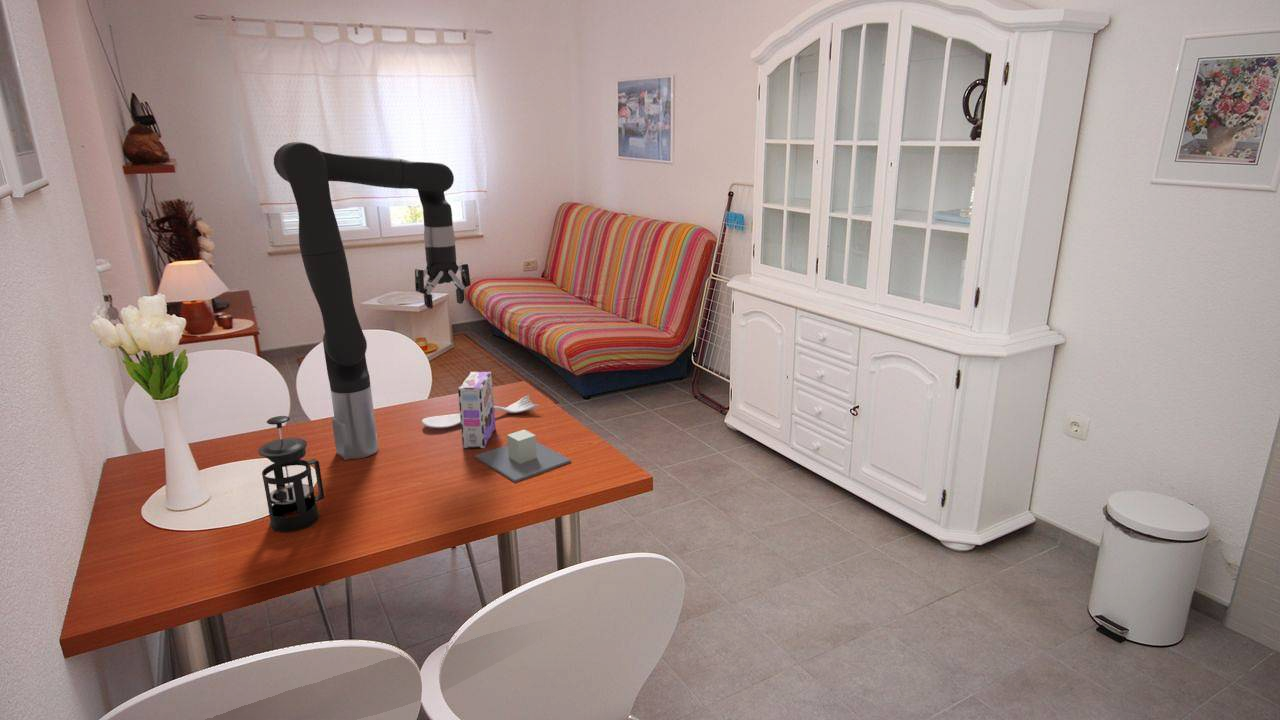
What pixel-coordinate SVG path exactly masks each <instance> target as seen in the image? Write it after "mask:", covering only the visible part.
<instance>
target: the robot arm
mask: <svg viewBox="0 0 1280 720" xmlns="http://www.w3.org/2000/svg"><path fill="white" fill-rule="evenodd" d="M273 166H274V168H275V171H276V173H277V174H278V176H280V178H281V179H283V180H284V181H286V182H287V183H289V185H290V188H291V190H292V192H293V193H292V194H293V196H294V200H295V202H296V206H297V207H296V208H297V212H298V244H299V249H300V254H301V255H300V256H301V259H302V262H303V267H304V270H305V273H306V277H307V280H308V283H309V284H310V288H311V291H312V293H313V295H314V297H315V300H316V303H317V304H318V307H319V310H320V314H321V316H322V321H323V328H324V333H323V336H322V344H323V345H322V346H323V351H324V358H325V360H324V361H325V365H326V372H327V373H326V374H327V379H328V381H329V387H330V394H331V402H332V410H333V417H332V418H331V423H332V429H333V430H332V431H333V435H334V436H333V437H334V443H335V449H336V450H335V453H337V454H338V456H340V457H341V458H342V459H344V460H352V459H355V460H356V459H361V458H365V457H366V458H367V457H370V456H371V455H374V454H376V453H377V452H378V451H379V443H378V436H377V428H376V427H377V426H376V420H375V419H376V418H375V410H374V403H373V394H372V385H371V377H370V372H369V370H368V363H367V359H366V358H367V357H366V352H367V348H368V343H367V339H366V337H365V334H364V332H363V330H362V326H361V324H360V322H359V321H360V320H359V318H358V315H357V311H356V309H355V305H354V299H353V298H354V297H353V289H352V281H351V277H350V271H349V264H348V259H347V255H346V251H345V247H344V243H343V239H342V236H341V232H340V229H339V225H338V221H337V217H336V215H335V211H334V208H333V204H332V199H331V191H330V183H329V182H338V183H339V182H340V183H342V182H343V183H350V184H351V183H352V184H358V185H364V186H372V187H378V188H388V189H398V190H399V189H402V190H403V189H404V190H405V189H406V190H408V189H411V190H412V189H413V190H417V193H418V196H419V200H420V204H421V207H422V215H423V217H422V218H423V226H424V231H423V238H424V239H423V240H424V250H425V252H424V253H425V262H426V268H415V269H414V283H415V285H414V286H415V292H417V293H420V294H423V300H424V301H423V302H424V306H425V307H426V308H427V309H430V310H431V309H433V308H434V305H433V303H434V301H433V294H432V292H433V290H434V289H435V288H436V287H437V285H442V284H448V283H452V284H453V285H454V287H455V288H456V289H455V297H456V302H457V304H459V305H461V304H463V303H464V301H465V288H467V287H470V286H471V277H470V268H469V264H467V263H464V262H460V263H459V264H457V249H456V237H455V230H454V225H453V224H454V223H453V222H454V221H453V211H452V206H451V204H450V203H449V202H448V201H447V200H446V196H445V195H446V194H445V192H447V191H449V190H450V189H451V188H452V186H453V185H454V181H455V180H454V179H455V177H454V173H453V171H452V169H451V168H450V167H449V166H447V165H446V164H444V163H441V162H428V161H427V162H426V161H413V160H407V159H403V158H395V157H386V156H374V155H355V154H354V155H352V154H342V153H335V152H328V151H323V150H320V149H319V148H318V147H317V146H315V145H313V144H312V143H309V142H305V141H296V142H295V141H293V142H288V143H285V144H283V145H282V146H280V147H279V148H278V149H277V150H276V152H275V154H274V156H273ZM458 272H460V276H461V277H460V278H461V279H459V277H458V276H457V275H456V274H457V273H458ZM426 275H427V276H428V278H427V280H426V282H425V277H426Z"/></svg>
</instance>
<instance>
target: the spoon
mask: <svg viewBox="0 0 1280 720" xmlns="http://www.w3.org/2000/svg"><path fill="white" fill-rule="evenodd" d="M539 407H540V404H538V403H533V402H532V400H531V398H530V395H525V396H523V397H521V398H520V399H519V400H518V401H517V400H516V401H515V402H514V403H511V404H509V405H508V406H507V407H503V406H498V405H494V411H501V412H505V413H509V414H520V413H523V412H528V411H532V410H535V409H538V408H539ZM421 423H422V425H423V426H424V427H426V428H427V427H428V428H431V429H450V428H452V427H454V426H457V425H459V424H461V419H460V412H459V413H451V414H444V415H435V416H434V415H433V416H428V417H425V418H424V417H423V419H422V420H421Z"/></svg>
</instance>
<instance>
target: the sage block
mask: <svg viewBox="0 0 1280 720" xmlns="http://www.w3.org/2000/svg"><path fill="white" fill-rule="evenodd" d="M506 438H507V440H506V441H507V445H508V457H509V458H510V459H512V460H514V461H516V462H517V463H519V464H521V463H524V462H527V461H529V460H532V459H535V458H537V448H536V442H537V435H536V434H534V433H532V432H531V431H529V430H526V429H520V430H518V431H515V432H512V433H508V434H507V435H506Z"/></svg>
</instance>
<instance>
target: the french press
mask: <svg viewBox="0 0 1280 720" xmlns="http://www.w3.org/2000/svg"><path fill="white" fill-rule="evenodd" d="M290 420H291V418H290V417H289V416H287V415H278V416H273V417H271V418H269V419H267V420H266V423H267V424H268V425H276V428H277V429H278V432H279V439H275V440H272V441H269V442H267V443H264V444H262V445H261V446H260V447H259V448H258V450H257V453H258V455H260V456H261V457H265V458H266V459H267V460H269V461H270V462H271V463H272V464H270V465H268V466H266V467H265V468H264V469H263V470H262V472H261V475H262V479H263V480H262V481H263V485H264V491H265V497H266V501H267V508H268V516H269V521H270V522H269V527H270V529H271V528H272V529H273V530H272V529H271V530H272V531H274V532H277V531H279V532H278V533H293V532H292V531H294V532H297V530H299V531H302V530H305V529H307V528H309V527H311V526H313V525H314V524H316V523H317V522H316V521H318V520H319V519H320V512H319V511H318V506H317V502H318V501H321V500H323V499H325V493H324V486H323V479H322V474H321V466H320V461H319V460H317V459H316V458H312V459H309V460H306V459H302V458H304V457H305V456H306V454H307V451H306V448H307V446H308V441H307V440H306V439H303V438H300V437H285V438H283V434H282V428H283V424H285V423H287V422H289V421H290ZM313 464H314V470H315V476H316V483H317V489H318V495H316V496H315V490H314V483H313V476H312V467H311V465H313ZM291 466H301V467H302V466H303V467H305V470H304V471H301V472H300V473H297V474H294V475H291V476H289V471H288V467H291ZM283 468H285V474H286V477H285V475H284V470H283ZM272 471H273V474H274V477H269V476H266V475H268V474H269V473H271V472H272ZM306 477H307V484H306V483H303V479H305V478H306ZM269 485H275V486H276V487H275V488H276V489H274V490H272V491H271V492H270V488H269V487H270V486H269ZM293 513H297V514H296V515H292V516H286V515H289V514H293ZM304 528H305V529H304ZM301 529H302V530H301Z"/></svg>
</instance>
